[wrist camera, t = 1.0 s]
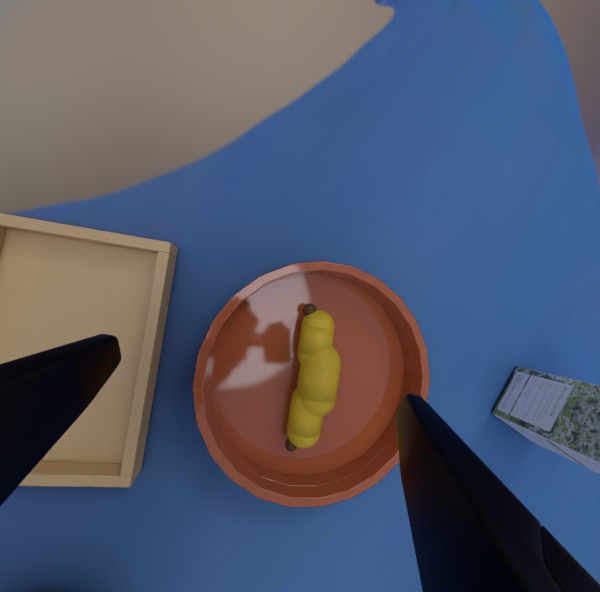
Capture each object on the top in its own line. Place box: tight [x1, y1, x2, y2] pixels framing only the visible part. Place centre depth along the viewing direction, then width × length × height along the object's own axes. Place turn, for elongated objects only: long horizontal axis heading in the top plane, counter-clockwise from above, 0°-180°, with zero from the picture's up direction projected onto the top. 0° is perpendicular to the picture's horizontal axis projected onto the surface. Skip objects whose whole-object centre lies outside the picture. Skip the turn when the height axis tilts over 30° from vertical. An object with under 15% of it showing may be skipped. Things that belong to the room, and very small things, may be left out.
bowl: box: [193, 261, 430, 507], centre depth 22 cm, size 18×18×3 cm
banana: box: [285, 304, 341, 451], centre depth 21 cm, size 12×4×3 cm, turn 172°
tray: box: [0, 213, 178, 487], centre depth 19 cm, size 18×12×2 cm
